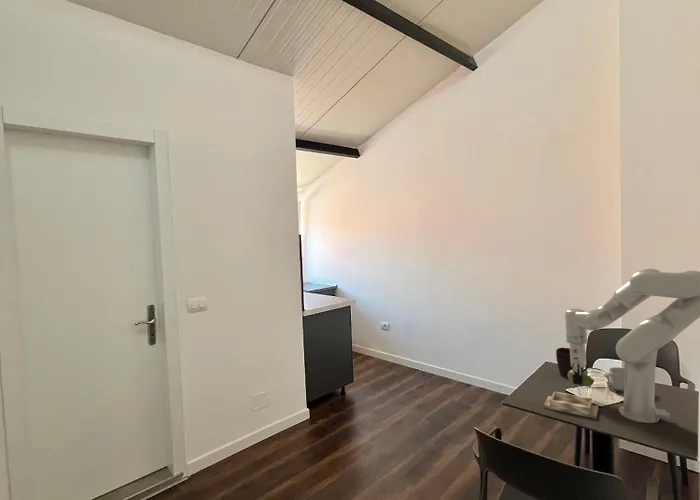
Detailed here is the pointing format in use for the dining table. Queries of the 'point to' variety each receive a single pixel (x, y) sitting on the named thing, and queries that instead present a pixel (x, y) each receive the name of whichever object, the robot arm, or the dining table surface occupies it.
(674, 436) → the dining table surface
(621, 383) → the teacup
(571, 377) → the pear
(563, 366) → the mug
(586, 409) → the open rectangular box
